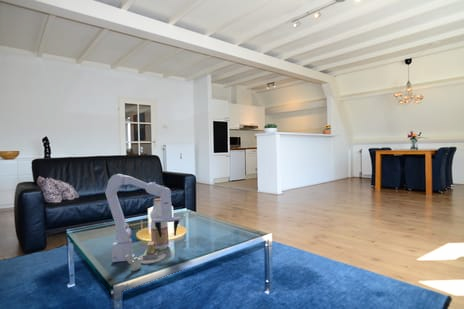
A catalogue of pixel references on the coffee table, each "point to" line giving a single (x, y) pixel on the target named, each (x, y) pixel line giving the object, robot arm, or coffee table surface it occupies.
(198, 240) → the coffee table surface
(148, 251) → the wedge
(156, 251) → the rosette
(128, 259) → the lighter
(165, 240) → the fruit juice
